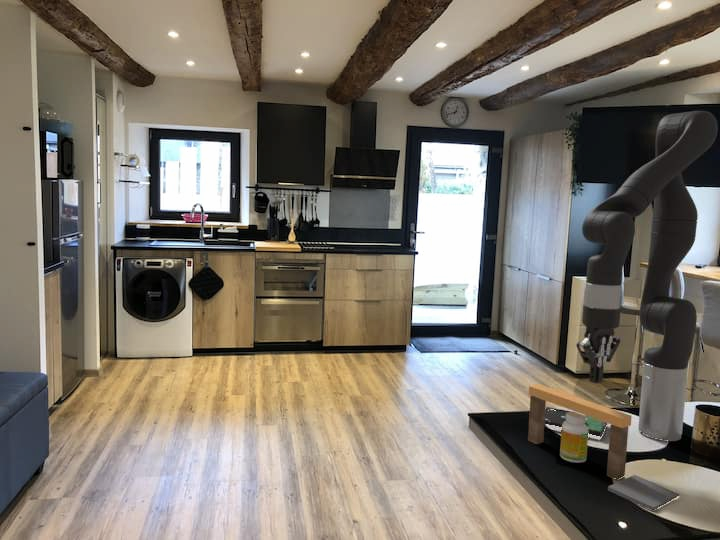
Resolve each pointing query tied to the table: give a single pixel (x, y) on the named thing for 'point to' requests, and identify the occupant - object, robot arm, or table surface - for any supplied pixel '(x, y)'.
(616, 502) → the table surface
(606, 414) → the bar
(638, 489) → the book
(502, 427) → the table surface
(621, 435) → the stand
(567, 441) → the supplement bottle
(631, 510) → the table surface
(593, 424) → the disk drive
